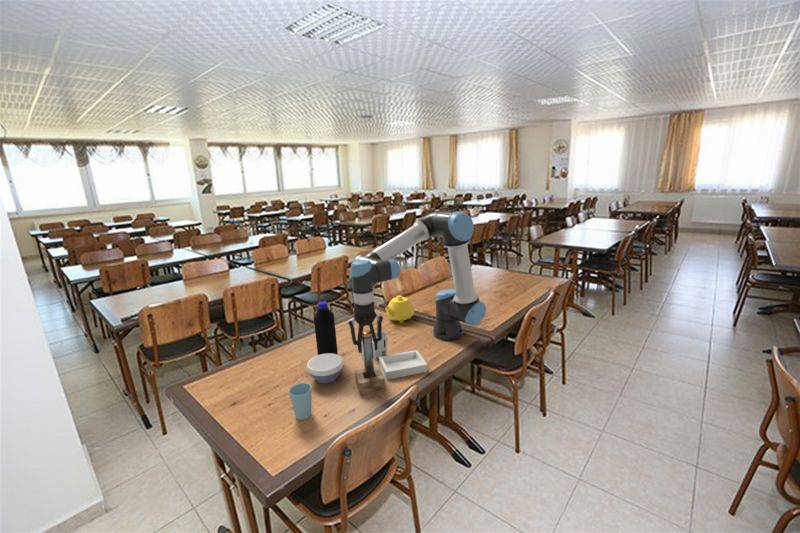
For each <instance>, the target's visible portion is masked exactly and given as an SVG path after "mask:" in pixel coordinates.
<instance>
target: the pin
mask: <svg viewBox="0 0 800 533" xmlns="http://www.w3.org/2000/svg"><path fill="white" fill-rule="evenodd" d="M372 336H373V334H372V333H371V331H370V329H363V334H362V343H363V346H364V358H365V361H363V364H364V369H365V374H366V375H372V374H374V367H375V364H374V362H375V361H374V359H373V349H372Z"/></svg>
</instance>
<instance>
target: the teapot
mask: <svg viewBox="0 0 800 533" xmlns="http://www.w3.org/2000/svg"><path fill="white" fill-rule="evenodd" d="M385 311H386V316H387V317H388V318H389V321H392V322H393V321H399V322H398V323H399V324H404V323H405V321H407V320H411V319H412V317H413V315H414V314H415V309H414V306H413V304H412V303H411V301H410V300H409V298H408V297H406V296H405V297H404V296H403V295H396V297H393V298H391V299H390V301H389V303H388V305H387V306H386V307H385Z"/></svg>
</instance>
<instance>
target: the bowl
mask: <svg viewBox="0 0 800 533" xmlns="http://www.w3.org/2000/svg"><path fill="white" fill-rule="evenodd" d="M306 363H307V364H306V367H307V372H308V373H309V374H310V376H311V377H312V378H313V379H314V380H315V381H316V382H317V383H319V384H329V383H333V382H334V381H336V380H337V378H338V377H339V375H340V373H341V372H342V369H343V367H344V360H343V357H342V356H341V355H339V354H338V355H337V354H333V353H327V354H321V355H318V354H317V355H315V356H313V357H311V358H310V359H309V360H308V361H307V362H306Z"/></svg>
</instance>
